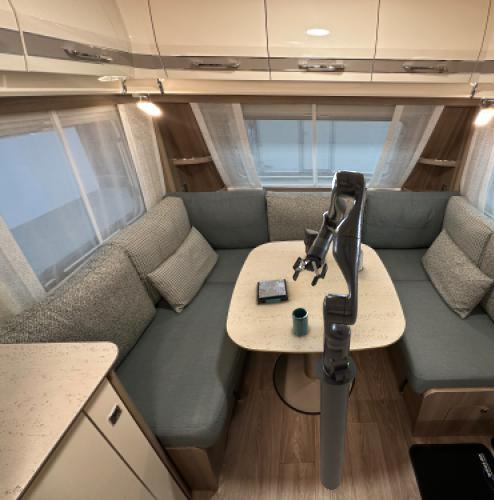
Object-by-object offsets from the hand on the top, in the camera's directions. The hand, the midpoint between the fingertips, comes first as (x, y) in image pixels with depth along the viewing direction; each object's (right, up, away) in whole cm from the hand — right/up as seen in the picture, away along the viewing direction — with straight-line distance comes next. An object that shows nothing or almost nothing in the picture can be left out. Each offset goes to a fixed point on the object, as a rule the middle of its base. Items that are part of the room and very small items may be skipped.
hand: (303, 282), depth 107 cm
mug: (+28, +2, +49) cm, 57 cm away
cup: (-1, -22, +9) cm, 24 cm away
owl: (+6, +8, +59) cm, 60 cm away
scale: (-18, -9, +31) cm, 37 cm away
